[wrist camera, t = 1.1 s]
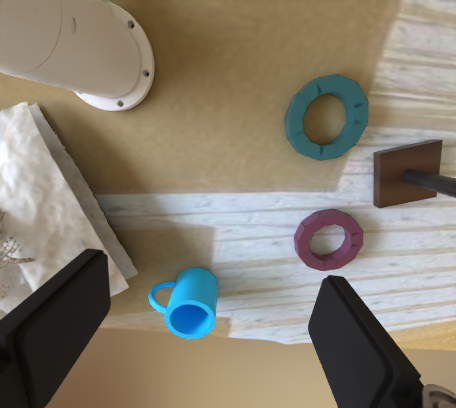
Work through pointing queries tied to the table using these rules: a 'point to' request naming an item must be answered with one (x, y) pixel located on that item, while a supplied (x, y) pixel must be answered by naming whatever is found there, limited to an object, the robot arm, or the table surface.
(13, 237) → the plastic wrap
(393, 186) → the peg stand
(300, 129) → the teal ring
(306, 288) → the table surface
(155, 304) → the mug
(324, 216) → the plum ring
